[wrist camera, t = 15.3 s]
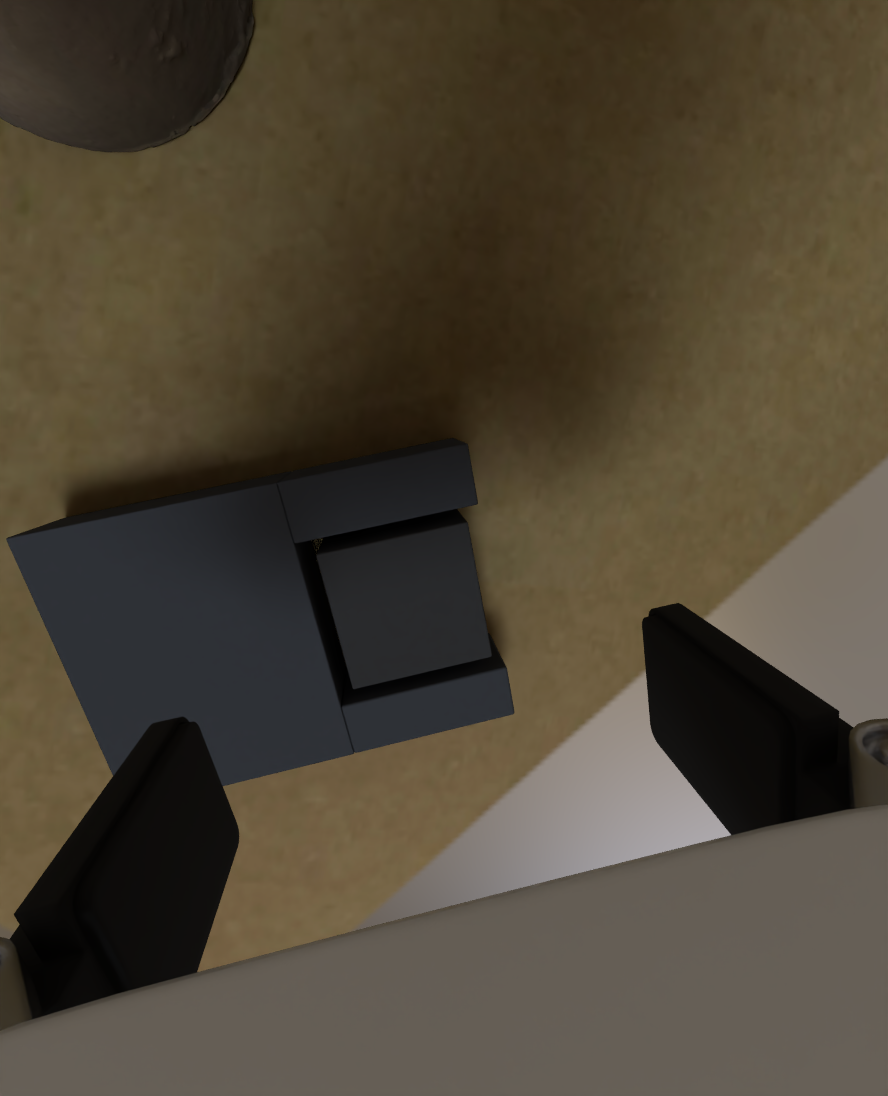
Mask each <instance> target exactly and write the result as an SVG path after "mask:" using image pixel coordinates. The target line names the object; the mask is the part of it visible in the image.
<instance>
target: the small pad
mask: <svg viewBox="0 0 888 1096" xmlns="http://www.w3.org/2000/svg"><path fill="white" fill-rule="evenodd" d="M316 557H317V561H318V564H319V568H320V572H321V575H322V579H323V582H324V586H325V590H326V593H327V597H328V601H329V604H330V608H331V612H332V615H333V619H334V622H335V626H336V630H337V633H338V637H339V641H340V644H341V648H342V651H343V655H344V659H345V662H346V666H347V670H348V673H349V677H350V681H351V684H352V688H353V689H357V688H361V687H365V686H369V685H374V684H378V683H382V682H386V681H390V680H395V679H399V678H403V677H407V676H412V675H416V674H420V673H424V672H428V671H433V670H437V669H441V668H445V667H450V666H454V665H458V664H462V663H466V662H471V661H475V660H479V659H483V658H488V657H491V656H492V653H491V647H490V642H489V636H488V631H487V625H486V620H485V614H484V609H483V603H482V598H481V592H480V587H479V582H478V576H477V571H476V565H475V560H474V554H473V549H472V543H471V538H470V532H469V527H468V523H467V521H466V520H465V519H464V518H463V516H462V515H461V514H460V512H459V511H458V510H457V509H453V510H449V511H444V512H440V513H435V514H430V515H426V516H421V517H416V518H412V519H407V520H402V521H398V522H393V523H388V524H384V525H379V526H375V527H370V528H365V529H361V530H356V531H351V532H347V533H342V534H337V535H333V536H328V537H324V538H323V540H322V543H321V545H320V547H319V550H318V552H317V555H316Z"/></svg>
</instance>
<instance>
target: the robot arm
mask: <svg viewBox="0 0 888 1096" xmlns="http://www.w3.org/2000/svg"><path fill="white" fill-rule="evenodd" d="M642 630H643V642H644V654H645V666H646V678H647V689H648V702H649V713H650V725H651V729H652V733H653V735H654V738H655V740H656V741H657V743H658V744H659V746H660V747H661V748H662V749H663V751H664V752H665V753H666V754H667V756H668V757H669V758H670V759H671V760H672V762H673V763H674V764H675V766H676V767H677V768H678V769H679V770H680V772H681V773H682V774H683V775H684V777H685V778H686V779H687V780H688V782H689V783H690V784H691V785H692V787H693V788H694V789H695V790H696V792H697V793H698V794H699V795H700V796H701V798H702V799H703V800H704V802H705V803H706V804H707V805H708V807H709V808H710V809H711V810H712V811H713V813H714V814H715V815H716V816H717V818H718V819H719V820H720V821H721V823H722V824H723V825H724V826H725V828H726V829H727V830H728V831H729V833H730V834H731V836H727V837H723V838H719V839H714V840H711V841H706V842H702V843H698V844H694V845H690V846H686V847H682V848H678V849H674V850H671V851H666V852H662V853H658V854H654V855H650V856H646V857H642V858H638V859H634V860H630V861H626V862H622V863H619V864H615V865H610V866H606V867H603V868H598V869H594V870H590V871H586V872H582V873H578V874H574V875H571V876H566V877H563V878H558V879H555V880H550V881H547V882H543V883H539V884H535V885H531V886H527V887H523V888H520V889H515V890H511V891H507V892H503V893H500V894H496V895H492V896H488V897H484V898H480V899H476V900H472V901H468V902H464V903H461V904H457V905H453V906H449V907H445V908H442V909H437V910H433V911H430V912H426V913H422V914H418V915H414V916H410V917H406V918H403V919H399V920H395V921H391V922H387V923H383V924H379V925H375V926H372V927H368V928H364V929H360V930H356V931H352V932H348V933H345V934H341V935H337V936H333V937H330V938H326V939H322V940H318V941H314V942H311V943H307V944H303V945H299V946H295V947H292V948H288V949H284V950H280V951H277V952H273V953H269V954H265V955H261V956H258V957H254V958H250V959H246V960H242V961H239V962H235V963H231V964H227V965H223V966H220V967H216V968H212V969H208V970H205V971H201V972H197V970H198V967H199V964H200V961H201V958H202V955H203V952H204V949H205V946H206V943H207V940H208V937H209V934H210V930H211V927H212V924H213V921H214V918H215V915H216V912H217V909H218V906H219V903H220V900H221V897H222V894H223V891H224V888H225V884H226V881H227V878H228V875H229V872H230V869H231V866H232V863H233V860H234V857H235V854H236V851H237V848H238V843H239V829H238V825H237V822H236V820H235V817H234V815H233V812H232V809H231V807H230V804H229V802H228V799H227V797H226V794H225V791H224V789H223V786H222V784H221V781H220V779H219V776H218V773H217V771H216V768H215V766H214V763H213V761H212V758H211V755H210V753H209V750H208V748H207V745H206V743H205V740H204V737H203V735H202V732H201V730H200V727H199V725H198V724H197V723H196V722H194V721H193V722H189V720H188V719H187V718H186V717H183V716H182V717H178V718H173V719H169V720H165V721H160V722H156V723H152V724H151V725H150V726H149V727H148V729H147V730H146V731H145V733H144V734H143V736H142V737H141V738H140V740H139V741H138V743H137V744H136V745H135V747H134V748H133V750H132V751H131V752H130V754H129V755H128V756H127V758H126V759H125V761H124V762H123V763H122V765H121V766H120V768H119V769H118V770H117V772H116V773H115V775H114V776H113V777H112V779H111V780H110V781H109V783H108V784H107V786H106V787H105V788H104V790H103V791H102V793H101V794H100V795H99V797H98V798H97V800H96V801H95V802H94V804H93V805H92V806H91V808H90V809H89V811H88V812H87V813H86V815H85V816H84V818H83V819H82V820H81V822H80V823H79V824H78V826H77V827H76V829H75V830H74V831H73V833H72V834H71V836H70V837H69V838H68V840H67V841H66V843H65V844H64V845H63V847H62V848H61V849H60V851H59V852H58V854H57V855H56V856H55V858H54V859H53V861H52V862H51V863H50V865H49V866H48V868H47V869H46V870H45V872H44V873H43V874H42V876H41V877H40V879H39V880H38V881H37V883H36V884H35V886H34V887H33V888H32V890H31V891H30V893H29V894H28V895H27V897H26V898H25V899H24V901H23V902H22V904H21V905H20V906H19V908H18V909H17V911H16V912H15V913H14V916H15V917H16V919H17V921H18V922H19V924H20V925H19V926H18V928H17V929H16V931H15V932H14V934H13V935H12V936H11V938H10V939H6V938H2V937H0V1096H888V719H887V718H886V719H874V720H869V721H865V722H862V723H859V724H857V725H856V726H855V727H854V728H853V727H852V726H850V725H849V724H848V723H846V722H845V721H843V720H842V719H840V718H839V711H838V710H837V709H835V708H834V707H832V706H831V705H829V704H828V703H826V702H825V701H823V700H822V699H820V698H819V697H817V696H816V695H814V694H813V693H812V692H810V691H808V690H807V689H805V688H804V687H803V686H801V685H800V684H798V683H797V682H795V681H794V680H792V679H791V678H789V677H788V676H786V675H785V674H783V673H782V672H780V671H779V670H777V669H776V668H775V667H773V666H772V665H770V664H769V663H767V662H766V661H764V660H763V659H761V658H760V657H758V656H757V655H755V654H754V653H752V652H751V651H749V650H748V649H747V648H745V647H744V646H742V645H741V644H739V643H738V642H736V641H735V640H733V639H732V638H730V637H729V636H727V635H726V634H724V633H723V632H722V631H720V630H718V629H717V628H716V627H714V626H713V625H711V624H710V623H708V622H707V621H705V620H704V619H702V618H701V617H699V616H698V615H696V614H695V613H693V612H692V611H691V610H689V609H688V608H686V607H685V606H683V605H682V604H679V603H676V604H671V605H667V606H662V607H658V608H654V609H651V610H650V611H649V617H645V618H644V619H643V621H642Z"/></svg>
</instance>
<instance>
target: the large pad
mask: <svg viewBox="0 0 888 1096" xmlns="http://www.w3.org/2000/svg"><path fill="white" fill-rule="evenodd" d="M476 504H478V501H477V495H476V489H475V483H474V478H473V472H472V466H471V461H470V455H469V449H468V444H467V443H465V442H462V441H459V440H457V439H454V438H450V439H445V440H441V441H436V442H431V443H426V444H421V445H416V446H411V447H407V448H402V449H397V450H392V451H387V452H382V453H377V454H372V455H368V456H363V457H358V458H353V459H348V460H343V461H338V462H334V463H329V464H324V465H319V466H314V467H309V468H304V469H300V470H295V471H292V472H291V471H290V472H285V473H280V474H275V475H270V476H265V477H261V478H256V479H251V480H246V481H241V482H236V483H231V484H226V485H222V486H217V487H212V488H207V489H202V490H197V491H192V492H188V493H183V494H178V495H173V496H168V497H163V498H158V499H154V500H149V501H144V502H139V503H134V504H129V505H124V506H120V507H115V508H110V509H105V510H100V511H95V512H90V513H85V514H81V515H76V516H71V517H66V518H63V519H60V520H57V521H54V522H51V523H49V524H46V525H43V526H40V527H37V528H34V529H31V530H28V531H26V532H23V533H20V534H17V535H14V536H11V537H8V538H7V539H6V540H7V542H8V544H9V547H10V549H11V551H12V553H13V555H14V558H15V560H16V562H17V564H18V566H19V569H20V571H21V573H22V575H23V577H24V580H25V582H26V584H27V586H28V589H29V591H30V593H31V595H32V597H33V600H34V602H35V604H36V606H37V608H38V611H39V613H40V615H41V617H42V619H43V622H44V624H45V626H46V628H47V631H48V633H49V635H50V637H51V639H52V642H53V644H54V646H55V648H56V650H57V653H58V655H59V657H60V659H61V662H62V664H63V666H64V668H65V670H66V673H67V675H68V677H69V679H70V681H71V684H72V686H73V688H74V690H75V692H76V695H77V697H78V699H79V701H80V704H81V706H82V708H83V710H84V712H85V715H86V717H87V719H88V721H89V723H90V726H91V728H92V730H93V732H94V734H95V737H96V739H97V741H98V743H99V746H100V748H101V750H102V752H103V754H104V757H105V759H106V761H107V763H108V765H109V768H110V770H111V772H112V774H113V776H114V775H115V773H116V772H117V770H118V769H119V768H120V766H121V765H122V763H123V762H124V761H125V759H126V758H127V756H128V755H129V754H130V752H131V751H132V750H133V748H134V747H135V745H136V744H137V743H138V741H139V740H140V738H141V737H142V736H143V734H144V733H145V731H146V730H147V729H148V727H149V726H150V725H151V724H152V723H156V722H160V721H165V720H169V719H173V718H178V717H182V716H183V717H186V718H187V719H188V720H189V722H193V721H194V722H196V723H197V724H198V725H199V727H200V730H201V732H202V735H203V737H204V740H205V743H206V745H207V748H208V750H209V753H210V755H211V758H212V761H213V763H214V766H215V768H216V771H217V773H218V776H219V779H220V781H221V784H222V786H225V785H229V784H233V783H237V782H241V781H245V780H249V779H253V778H258V777H262V776H266V775H270V774H274V773H278V772H282V771H286V770H290V769H294V768H298V767H302V766H306V765H310V764H315V763H319V762H323V761H327V760H331V759H335V758H339V757H343V756H347V755H351V754H354V752H355V753H357V752H361V751H365V750H369V749H374V748H378V747H382V746H386V745H390V744H394V743H398V742H402V741H406V740H410V739H414V738H418V737H422V736H426V735H430V734H435V733H439V732H443V731H447V730H451V729H455V728H459V727H463V726H467V725H471V724H475V723H479V722H483V721H487V720H492V719H496V718H500V717H504V716H508V715H512V714H514V707H513V701H512V695H511V689H510V684H509V678H508V672H507V668H506V666H505V664H504V662H503V660H502V658H501V656H500V654H499V652H498V650H497V648H496V646H495V643H494V641H493V639H492V637H491V635H490V634H489V633H488V636H489V642H490V647H491V653H492V656H491V657H488V658H483V659H479V660H475V661H471V662H466V663H462V664H458V665H454V666H450V667H445V668H441V669H437V670H433V671H428V672H424V673H420V674H416V675H412V676H407V677H403V678H399V679H395V680H390V681H386V682H382V683H378V684H374V685H369V686H365V687H361V688H357V689H353V688H352V684H351V681H350V677H349V673H348V670H347V667H346V666H345V662H344V658H343V655H342V651H341V647H340V644H339V640H338V637H337V633H336V629H335V626H334V622H333V618H332V615H331V611H330V608H329V604H328V600H327V597H326V593H325V589H324V586H323V582H322V579H321V575H320V571H319V568H318V564H317V560H316V557H315V553H314V550H313V546H312V542H311V540H314V539H319V538H324V537H328V536H333V535H337V534H342V533H347V532H351V531H356V530H361V529H365V528H370V527H375V526H379V525H384V524H388V523H393V522H398V521H402V520H407V519H412V518H416V517H421V516H426V515H430V514H435V513H440V512H444V511H449V510H453V509H458V508H463V507H467V506H472V505H476Z"/></svg>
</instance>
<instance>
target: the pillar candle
mask: <svg viewBox="0 0 888 1096" xmlns="http://www.w3.org/2000/svg"><path fill="white" fill-rule="evenodd" d="M253 24H254V17H253V14H252V0H0V117H1V118H2V119H3V120H4V121H6V122H8V123H10V124H12V125H14V126H16V127H20V128H22V129H24V130H27V131H29V132H31V133H33V134H35V135H38V136H40V137H43V138H45V139H48V140H51V141H55V142H59V143H63V144H67V145H70V146H75V147H79V148H84V149H88V150H93V151H104V152H112V151H116V152H131V151H139V150H143V149H145V148H146V147H156V146H158V145H161V144H163V143H165V142H167V141H169V140H171V139H173V138H175V137H177V136H179V135H183V134H184V133H186V131H187V130H189V126H191V125H192V126H195V125H196V124H197V122H200V121H201V120H203V118H204V117H205V116H206V115H207V114H209V113H210V111H211V110H212V109H213V108H214V106H215V105H216V104H217V103H218V102H219V101H220V100H221V99H222V97H223V96H224V94H225V92H226V90H227V88H228V86H229V85H230V83H231V82H232V81H233V78H234V75H235V73H237V70H238V68H239V67H240V65H241V63H242V61H243V59H244V56H245V53H246V50H247V47H248V45H249V39H250V38H251V36H252V29H253Z"/></svg>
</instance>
